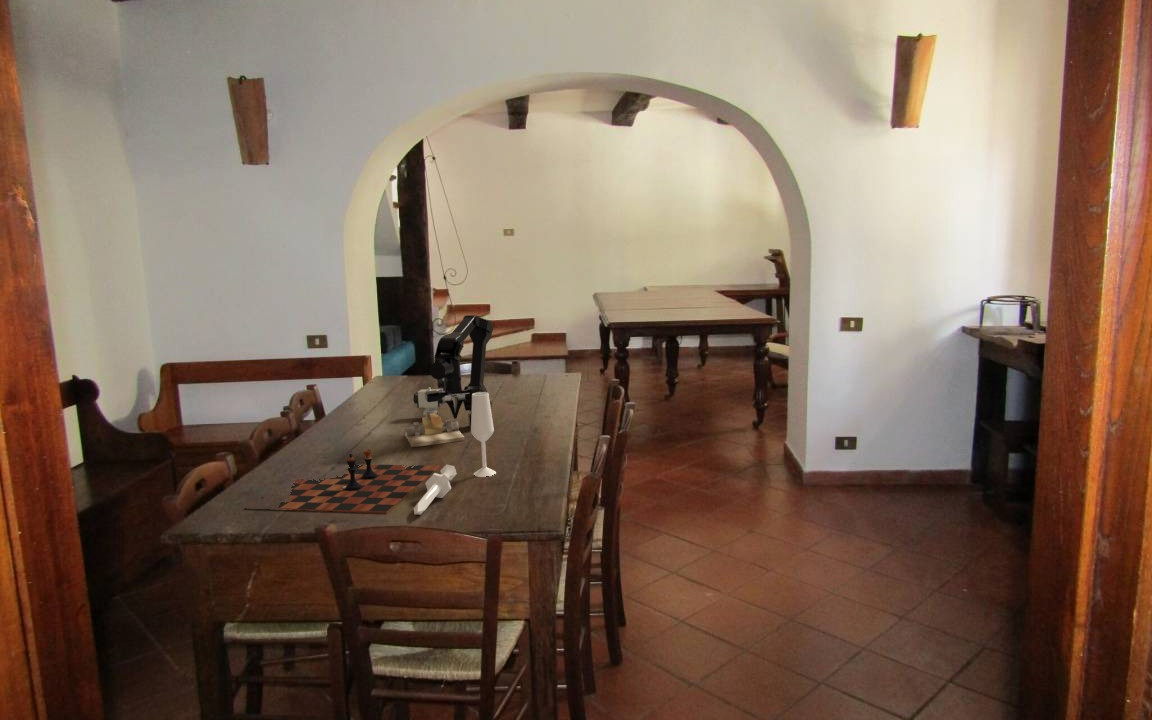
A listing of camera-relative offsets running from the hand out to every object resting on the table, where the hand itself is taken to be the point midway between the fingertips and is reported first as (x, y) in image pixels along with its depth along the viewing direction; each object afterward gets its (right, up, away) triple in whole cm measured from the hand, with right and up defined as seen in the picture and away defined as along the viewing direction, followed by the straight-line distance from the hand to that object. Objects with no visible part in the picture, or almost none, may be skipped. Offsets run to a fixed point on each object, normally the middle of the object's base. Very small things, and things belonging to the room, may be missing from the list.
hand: (455, 418), depth 262 cm
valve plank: (-8, -7, +5) cm, 12 cm away
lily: (-13, +3, +67) cm, 68 cm away
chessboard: (-23, -17, -44) cm, 52 cm away
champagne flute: (+15, -14, -37) cm, 42 cm away
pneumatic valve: (-15, -3, +35) cm, 38 cm away
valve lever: (-7, -1, +1) cm, 8 cm away
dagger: (+4, -18, -59) cm, 62 cm away
